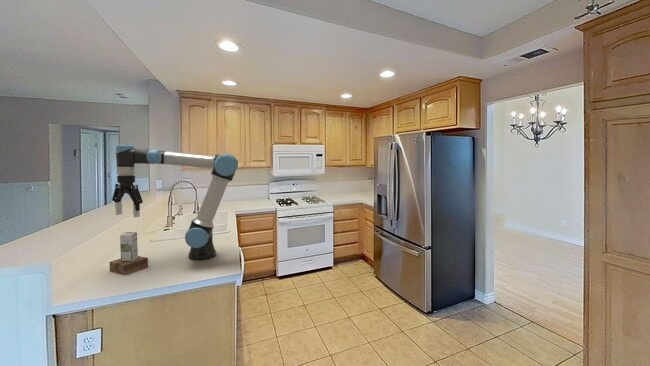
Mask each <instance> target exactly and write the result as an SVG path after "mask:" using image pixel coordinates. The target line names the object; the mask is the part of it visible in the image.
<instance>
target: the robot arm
mask: <svg viewBox="0 0 650 366" xmlns="http://www.w3.org/2000/svg"><path fill="white" fill-rule="evenodd" d="M115 158H116V159H115V160H116V175H117V176H116V182H117V183H115V184H114V191H113V194H112V198H111V201H112V202H114V203H115V205H114V207H115V215H116V216H118V215H123V205H122V204H123V203H122V202H123V201H122V199H123V197H124V196H125V194H127V195H128V196H129V197H130V199H131V201H132V203H133V204H132V214H133V218H139V217H140V215H141V214H140V210H141V208H140V207H141V204H143V203H144V201H143V198H142V196H141V193H140V190H139V184H134V183H135V182H136V176H135V174H136V172H135V166H136V165H137V164H141V165H144V164H146V165H169V166H179V167H191V168H200V169H201V168H202V169H208V170H209V169H210V170H211V173H210V175H211V177H212V178H211V181H210V183H209V185H208V188H207V191H206V193H205V196H204V198H203V200H202V203H201V206H200V207H199V210H198V213H197V216H196V217H195V218H193V219H191V223H190V225H189V227H188V230H187V231H186V233H185V235H184V241H185V243H186V245H188V247H190V249H189V252H188V259H190V260H193V261H203V260H204V261H205V260H209V259H212V258H214V257H215V256H216V253H217V251H216V249H215V246H214V242H213V237H214V235H213V229H214V226H215V225H214V222H213V220H214V219H215V216H216V214H217V211H218V208H219V207H220V205H221V201H222V199H223V196H224V193H225V191H226V188H227V186H228V184H229V183H230V182H232V181H233V179H234V176H235V173H236V171H237V169H238V167H239V162H238V159H237V158H236V157H235V156H234V155H232V154H229V153H223V154H214V155H205V154H204V155H203V154H197V153H195V154H194V153H185V152H178V151H177V152H176V151H165V150H159V149H152V148H151V149H147V148H146V149H143V148H142V149H139V148H138V149H137V148H135V147H134V145H132V144H117V145H116V148H115Z"/></svg>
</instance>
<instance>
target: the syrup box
mask: <svg viewBox="0 0 650 366" xmlns="http://www.w3.org/2000/svg"><path fill="white" fill-rule="evenodd" d="M119 243H120V244H119V245H120V248H119V249H120V259H121V262H128V261H134V260H136V259H137V258H138V256H139V253H138V252H139V251H138V249H139V248H138V231H127V232H123V233H121V234H119Z"/></svg>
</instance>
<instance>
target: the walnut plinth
mask: <svg viewBox="0 0 650 366" xmlns="http://www.w3.org/2000/svg"><path fill="white" fill-rule="evenodd" d="M108 264H109V272H111V273H115V274H119V275H124V276H127V275H128V276H129V275H130V274H133V273H135V272H139V271H141V270H144V269H146V268H148V267H149V257H147V256H146V257H145V256H140V255H138V258H137V259H136V260H134V261H128V262H121V258H118V259H115V260H112V261H109V263H108Z"/></svg>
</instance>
